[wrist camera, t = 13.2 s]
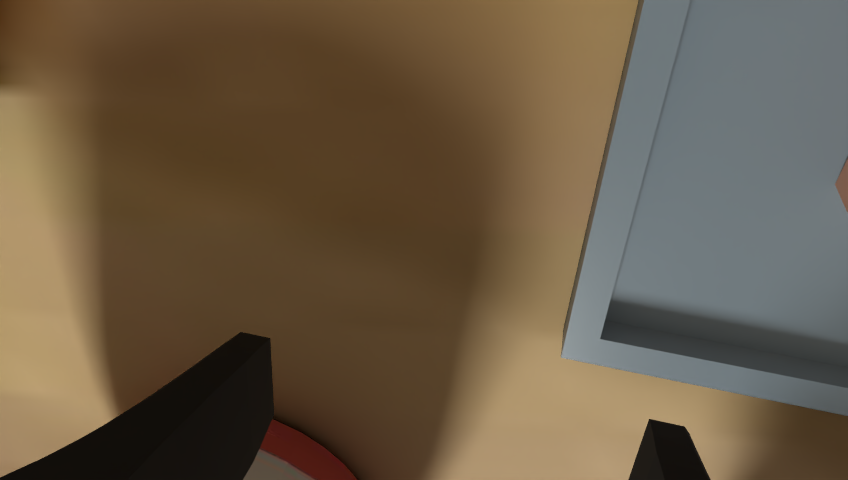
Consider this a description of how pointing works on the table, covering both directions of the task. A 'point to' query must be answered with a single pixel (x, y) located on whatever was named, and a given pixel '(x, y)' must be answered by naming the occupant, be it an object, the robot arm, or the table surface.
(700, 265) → the tray
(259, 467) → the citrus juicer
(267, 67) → the table surface
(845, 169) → the long salmon pink stick
